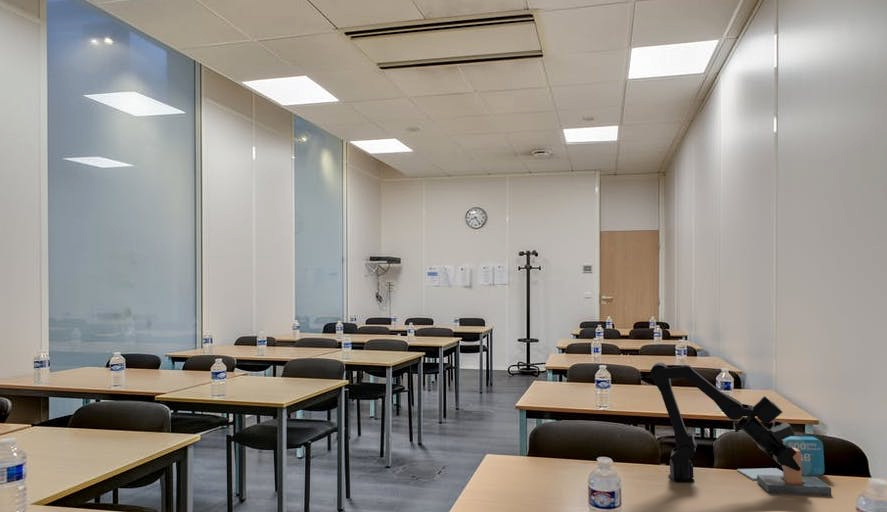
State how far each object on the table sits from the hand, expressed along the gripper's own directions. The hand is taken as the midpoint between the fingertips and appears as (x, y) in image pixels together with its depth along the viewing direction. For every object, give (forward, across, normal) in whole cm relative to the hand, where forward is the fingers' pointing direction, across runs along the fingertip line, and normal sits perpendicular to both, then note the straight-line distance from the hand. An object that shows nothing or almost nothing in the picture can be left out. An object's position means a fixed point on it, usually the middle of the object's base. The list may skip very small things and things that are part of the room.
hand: (796, 468), depth 186 cm
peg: (+4, 0, +6) cm, 7 cm away
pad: (+1, +14, +8) cm, 16 cm away
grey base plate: (+4, 0, +6) cm, 7 cm away
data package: (+11, +17, -1) cm, 20 cm away
